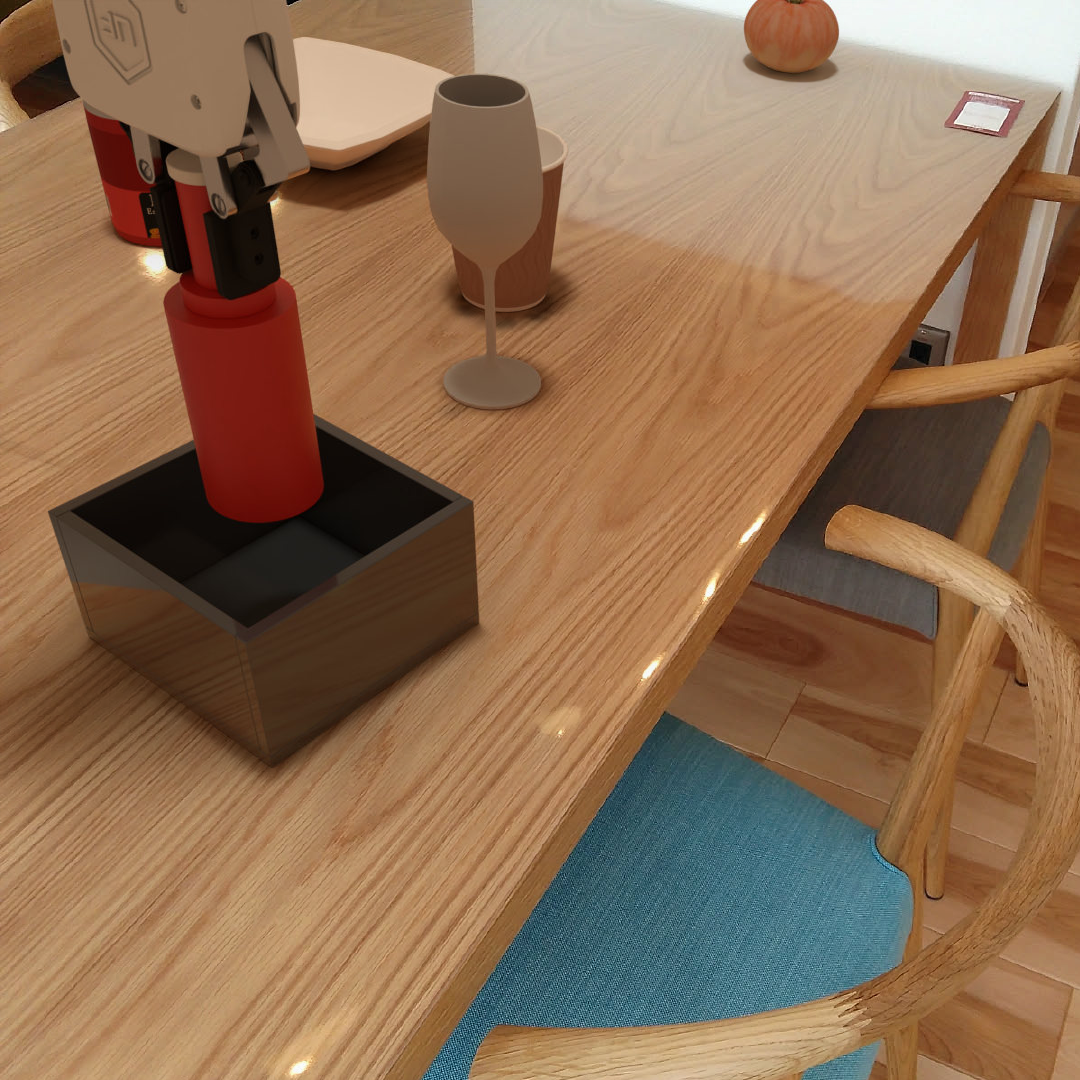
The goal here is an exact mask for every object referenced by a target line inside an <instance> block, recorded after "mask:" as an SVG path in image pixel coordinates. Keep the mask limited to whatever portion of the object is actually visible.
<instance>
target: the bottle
mask: <svg viewBox="0 0 1080 1080" xmlns="http://www.w3.org/2000/svg"><path fill="white" fill-rule="evenodd" d="M240 152H241V151H240ZM240 152H237V153H234V154H231V155H228V156H225V157H227V161H228V166H229V170H230V175H231V173H232V172H233V170H234V169H235V168H236V166H237V165H238V164H239V163H240V162H243V161H244V159H243V158H244V157H243V154H241V153H240ZM166 164H167V169H168V173H169V175H170V177H171V178H173V179H174V180H175V184H176V189H177V194H178V199H179V204H180V209H181V214H182V219H183V224H184V229H185V233H186V238H187V243H188V248H189V253H190V258H191V263H192V268H193V269H191V270H189V271H186V272H184V273H181V274H180V277H179V280H178V282H176V283H175V284H173V285H172V286H171V287H170V288H169V289H168V290H167V291H166V293H165V295H164V297H163V300H162V301H163V305H162V306H163V310H164V314H165V319H166V324H167V326H168V331H169V336H170V341H171V345H172V350H173V354H174V359H175V362H176V363H175V364H176V367H177V372H178V375H179V381H180V385H181V389H182V390H181V391H182V394H183V398H184V403H185V407H186V412H187V416H188V417H187V418H188V420H189V425H190V431H191V434H192V438H193V439H192V440H194V443H195V448H196V452H197V457H198V461H199V465H200V470H201V474H202V479H203V483H204V488H205V492H206V497H207V500H208V502H209V504H210V505H211V507H212V508H213V509H214V510H215V511H217V512H218V513H220V514H221V515H223V516H225V517H228V518H230V519H233V520H237V521H242V522H251V523H265V522H274V521H279V520H284V519H287V518H291V517H293V516H296V515H298V514H300V513H302V512H304V511H306V510H307V509H309V508H310V507H311V506H313V505H314V504H315V503H316V502H317V501H318V499H319V498H320V496H321V494H322V492H323V488H324V482H323V475H322V468H321V461H320V455H319V448H318V441H317V434H316V428H315V421H314V414H315V413H314V409H313V402H312V401H313V400H312V396H311V395H312V394H311V387H310V382H309V375H308V367H307V362H306V355H305V348H304V347H305V346H304V342H303V333H302V326H301V321H300V314H299V305H298V302H297V301H298V299H297V293H296V290H295V289H294V287H293V285H292V284H290V282H288V280H286V279H284V278H283V277H281V276H280V278H279V279H278V281H276V282H274V283H272V284H270V285H267V286H265V287H263V288H260V289H258V290H255V291H253V292H251V293H248V294H246V295H244V296H241V297H239V298H237V299H234V300H228V299H226V298H224V297H222V296H221V295H219V293H218V290H217V286H216V281H215V276H214V270H213V265H212V260H211V255H210V250H209V244H208V239H207V234H206V229H205V224H204V217H203V213H206V212H208V211H211V210H213V209H212V207H211V204H210V201H209V196H208V192H207V188H206V184H205V180H204V175H203V171H202V167H201V163H200V158H199V156H198V155H195V154H193V153H190V152H188V151H185V150H183V149H181V148H179V149H176V150H174V151H172V152H171V153H170V154H169V155H168V156H167V158H166Z"/></svg>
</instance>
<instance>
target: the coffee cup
mask: <svg viewBox="0 0 1080 1080" xmlns="http://www.w3.org/2000/svg"><path fill="white" fill-rule="evenodd" d="M536 128H537V134H538V141H539V149H540V157H541V165H542V175H543V202H542V211H541V218H540V220H539V223H538V225H537V228H536V230H535V232H534V234H533V235H532V236H531V238H530V239H529V240H528V241H527V242H526V244H525V245H524V246H523V247H522V248H521V249H520V250H519V251H517V252H516V253H515V254H514V255H512V256H511V257H510V258H509V259H507V260H506V261H504V262H503V263H502V264H500V265H499V267H498V268H497V270H496V274H495V281H494V290H495V312H497V313H498V312H500V313H511V312H512V313H513V312H514V313H515V312H521V311H525V310H528V309H531V308H533V307H535V306H537V305H538V304H540V303H541V302H542V301H543V300H544V299H545V297H546V294H547V291H548V285H549V283H550V279H551V278H550V277H551V270H552V261H553V254H554V245H555V237H556V231H557V223H558V213H559V205H560V197H561V189H562V181H563V173H564V165H565V161H566V160H567V157H568V156H569V148H568V144H567V142H566V140H564V138H563V137H561V136H560V135H559V134H557V133H556V132H554V131H552V130H550V129H548V128H546V127H543V126H539V125H537V124H536ZM451 250H452V255H453V262H454V267H455V272H456V278H457V282H458V284H459V287H460V291H461V294H462V296H463V298H464V299H465V300H466V301H467V302H469V303H470V304H472V305H473V306H475V307H477V308H479V309H483V310H485V298H484V281H483V276H482V272H481V270H480V268H479V266H478V265H477V264H476V263H474V262H473V261H471V260H470V259H468V258H467V257H466V256H464V255H463V254H462V253H460V252H459V251H458V250H457V249H455V248H454V247H453V246H452V245H451Z"/></svg>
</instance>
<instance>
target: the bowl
mask: <svg viewBox="0 0 1080 1080" xmlns="http://www.w3.org/2000/svg"><path fill="white" fill-rule="evenodd" d="M293 43H294V49H295V56H296V63H297V72H298V81H299V93H300V117H299V122H298V125H297V127H296V129H297V131H298V133H299V136H300V138H301V141H302V143H303V145H304V148H305V150H306V153H307V155H308V157H309V160H310V168H311V167H312V168H317V169H323V170H328V171H335V172H336V171H338V170H342V169H344V168H349V167H351V166H354V165H356V164H359V162H360V163H361V162H362V161H363V160H366V159H367V158H370V157H371V156H374V155H375V154H377V153H380V152H381V151H383V150H384V149H386V148H388V147H390V145H391V144H392V143H395V142H396V141H398V140H400V139H402V138H404V137H407V136H408V135H410V134H412V133H414V132H416V131H417V130H420V129H421V128H423V127H424V126H426V125H427V124H428V123H430V121H431V112H432V104H433V98H434V92H435V88H436V85H437V84H438V83H439V82H440V81H442V80H444V79H446V78H449V77H453V76H455V75H454V74H452V73H449V72H447V71H444V70H443V69H440V68H437V67H433V66H431V65H427V64H424V63H421V62H419V61H415V60H412V59H409V58H406V57H403V56H401V55H397V54H394V53H388V52H384V51H380V50H376V49H373V48H372V49H371V48H367V47H364V46H359V45H354V44H351V43H346V42H340V41H334V40H328V39H322V38H316V37H309V36H301V37H297V38H293Z"/></svg>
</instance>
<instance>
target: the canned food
mask: <svg viewBox="0 0 1080 1080" xmlns="http://www.w3.org/2000/svg"><path fill="white" fill-rule="evenodd" d="M82 105H83V110H84V115H85V120H86V123H87V127H88V133H89V136H90V139H91V144H92V147H93V152H94V155H95V159H96V160H95V161H96V164H97V168H98V172H99V176H100V180H101V184H102V188H103V193H104V197H105V200H106V204H107V209H108V213H109V217H110V220H111V223H112V225H113V228H114V229H115V231H116V232H117V234H118V236H119V237H121V238H122V239H124V240H125V241H127V242H129V243H133V244H136V245H140V246H146V247H159V248H160V247H162V244H161V239H160V235H159V230H158V225H157V221H156V216H155V212H154V207H153V202H152V198H151V193H150V189H149V188H151V187H153V186H156V183H153V184H149V183H147V182H146V181H145V180H144V179H143V178H142V177H141V175H140V173H139V171H138V168H137V164H136V158H135V152H134V146H133V144H132V142H131V141H130V139H129V138H128V136H127V135H126V133H125V132H124V130H123V129H122V128H121V126H120V124H119V120H117V119H115V118H113V117H111V116H109V115H107V114H105V113H103V112H101V111H99V110H97V109H95V108H94V107H92V106H91V105H89V104H88V103H87V102H85V101H84V100H83V99H82Z"/></svg>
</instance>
